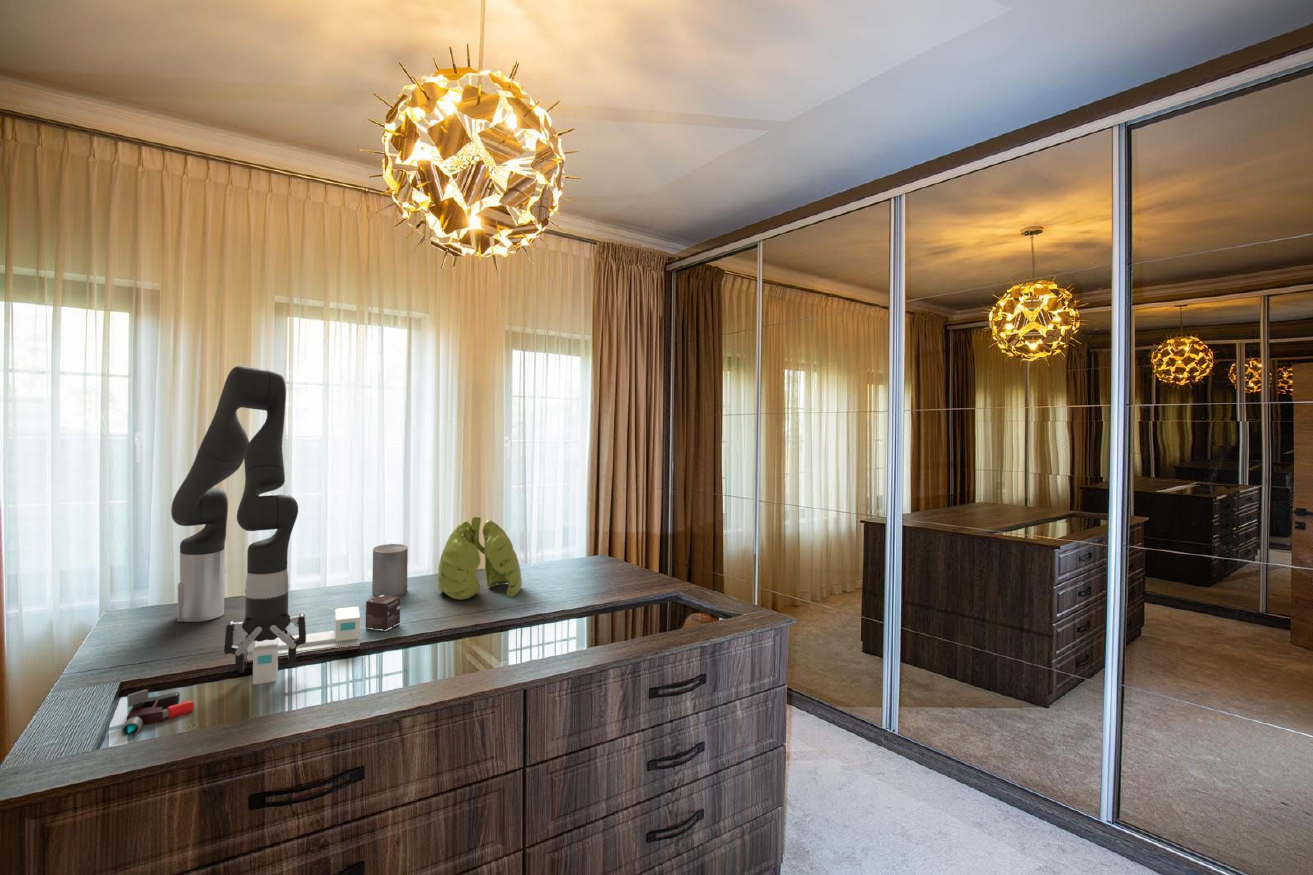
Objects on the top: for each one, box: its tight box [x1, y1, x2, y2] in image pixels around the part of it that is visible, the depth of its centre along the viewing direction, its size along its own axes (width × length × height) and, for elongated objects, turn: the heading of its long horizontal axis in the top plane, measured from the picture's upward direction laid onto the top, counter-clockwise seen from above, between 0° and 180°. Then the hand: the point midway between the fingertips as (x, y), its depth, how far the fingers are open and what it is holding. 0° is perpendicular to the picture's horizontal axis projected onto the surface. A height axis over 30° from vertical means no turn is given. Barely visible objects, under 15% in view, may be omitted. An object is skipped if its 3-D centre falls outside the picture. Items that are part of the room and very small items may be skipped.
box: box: [365, 595, 401, 630], centre depth 158 cm, size 6×6×7 cm
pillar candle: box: [371, 543, 409, 597], centre depth 184 cm, size 10×10×15 cm
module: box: [252, 638, 279, 685], centre depth 128 cm, size 4×6×7 cm, turn 29°
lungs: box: [437, 515, 523, 601], centre depth 188 cm, size 25×16×24 cm, turn 111°
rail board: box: [246, 606, 361, 660], centre depth 142 cm, size 22×10×7 cm, turn 119°
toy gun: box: [120, 689, 195, 737], centre depth 111 cm, size 10×12×5 cm
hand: (266, 667), depth 128 cm, fingers open, 8 cm apart
